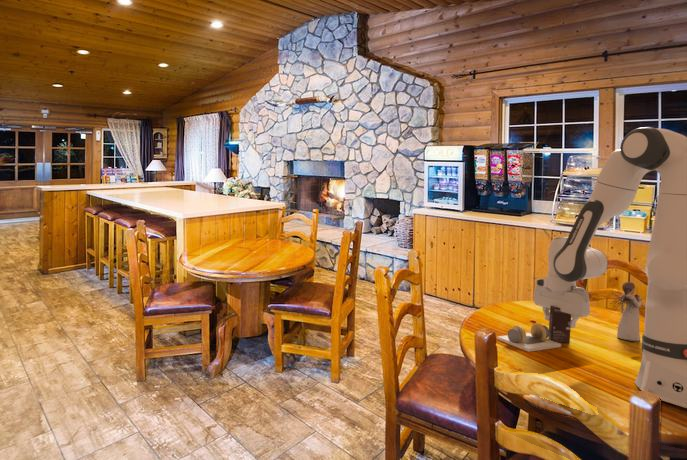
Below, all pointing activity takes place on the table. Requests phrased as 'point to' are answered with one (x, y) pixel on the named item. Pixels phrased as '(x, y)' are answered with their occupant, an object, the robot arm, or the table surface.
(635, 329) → the figurine
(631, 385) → the table surface
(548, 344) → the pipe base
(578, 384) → the table surface
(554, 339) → the box
